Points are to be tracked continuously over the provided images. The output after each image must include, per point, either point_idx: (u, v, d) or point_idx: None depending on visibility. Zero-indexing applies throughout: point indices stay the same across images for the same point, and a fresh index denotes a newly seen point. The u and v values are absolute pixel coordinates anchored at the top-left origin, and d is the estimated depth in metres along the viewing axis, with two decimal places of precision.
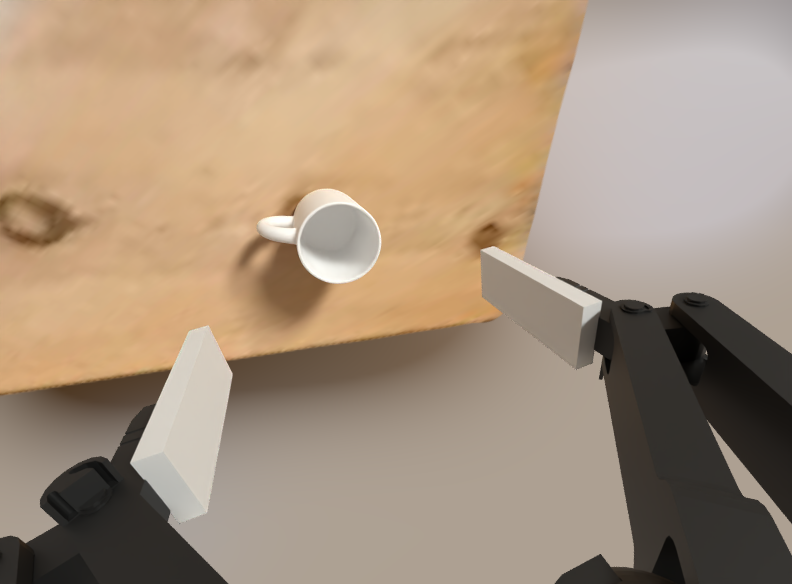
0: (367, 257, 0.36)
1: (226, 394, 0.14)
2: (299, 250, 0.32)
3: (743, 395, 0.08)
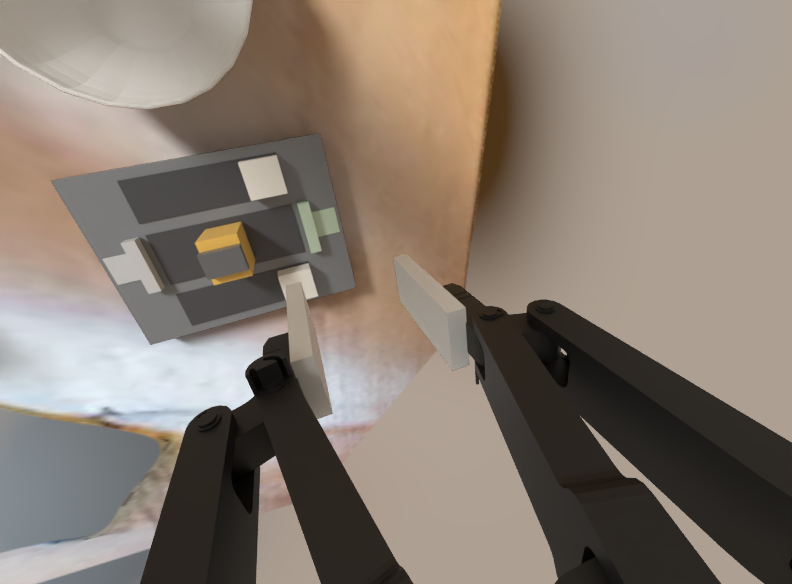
0: None
1: (317, 339, 0.16)
2: None
3: (607, 392, 0.09)
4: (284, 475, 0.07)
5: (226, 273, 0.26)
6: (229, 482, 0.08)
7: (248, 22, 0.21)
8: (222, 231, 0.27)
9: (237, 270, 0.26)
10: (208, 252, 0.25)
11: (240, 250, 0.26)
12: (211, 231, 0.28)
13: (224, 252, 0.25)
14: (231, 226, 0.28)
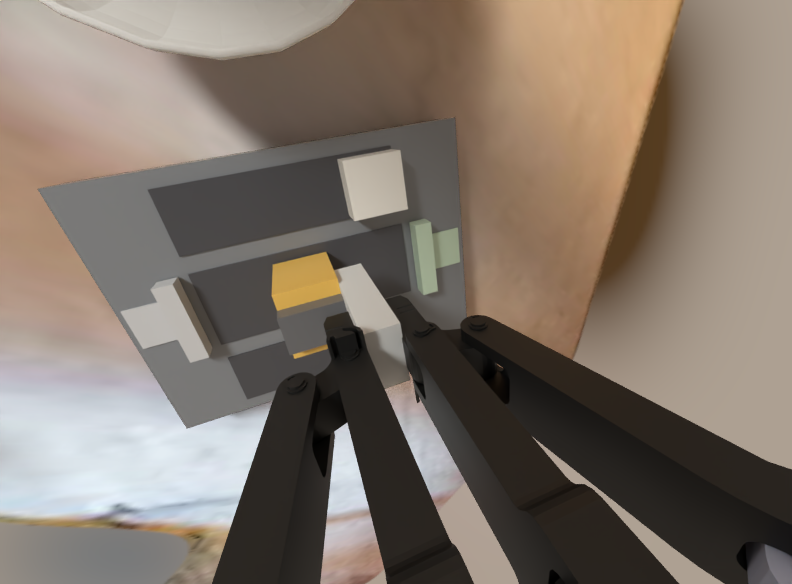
0: None
1: None
2: None
3: (550, 406, 0.09)
4: (352, 436, 0.08)
5: (319, 343, 0.16)
6: (310, 444, 0.09)
7: None
8: (307, 271, 0.17)
9: None
10: (292, 310, 0.15)
11: (344, 306, 0.15)
12: (287, 270, 0.17)
13: (320, 310, 0.15)
14: (316, 261, 0.18)
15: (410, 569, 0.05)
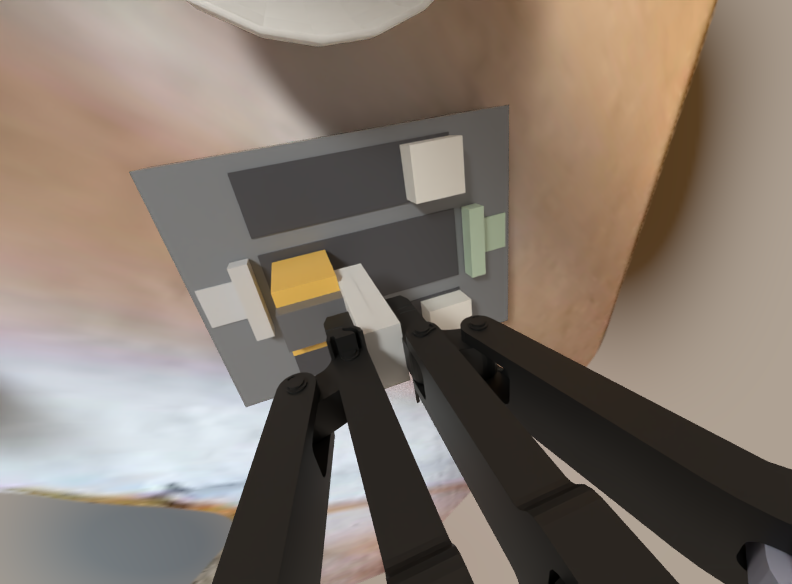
0: None
1: None
2: None
3: (550, 406, 0.09)
4: (352, 436, 0.08)
5: (318, 340, 0.16)
6: (310, 444, 0.09)
7: None
8: (306, 269, 0.17)
9: None
10: (292, 307, 0.15)
11: (343, 304, 0.15)
12: (286, 268, 0.17)
13: (319, 308, 0.15)
14: (314, 259, 0.18)
15: (410, 569, 0.05)
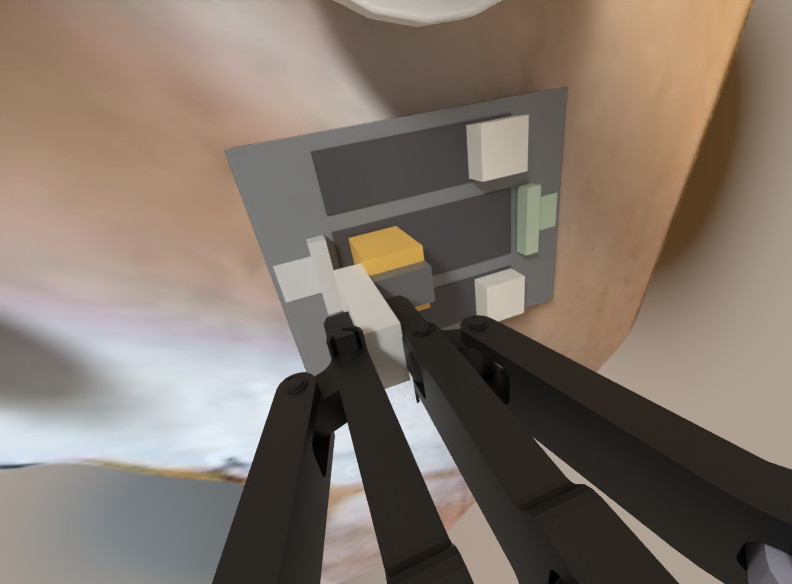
0: None
1: None
2: None
3: (550, 406, 0.09)
4: (352, 436, 0.08)
5: None
6: (310, 444, 0.09)
7: None
8: (388, 242, 0.18)
9: (420, 302, 0.17)
10: (383, 275, 0.16)
11: (430, 272, 0.16)
12: (366, 241, 0.18)
13: (409, 275, 0.16)
14: (391, 233, 0.19)
15: (410, 570, 0.05)
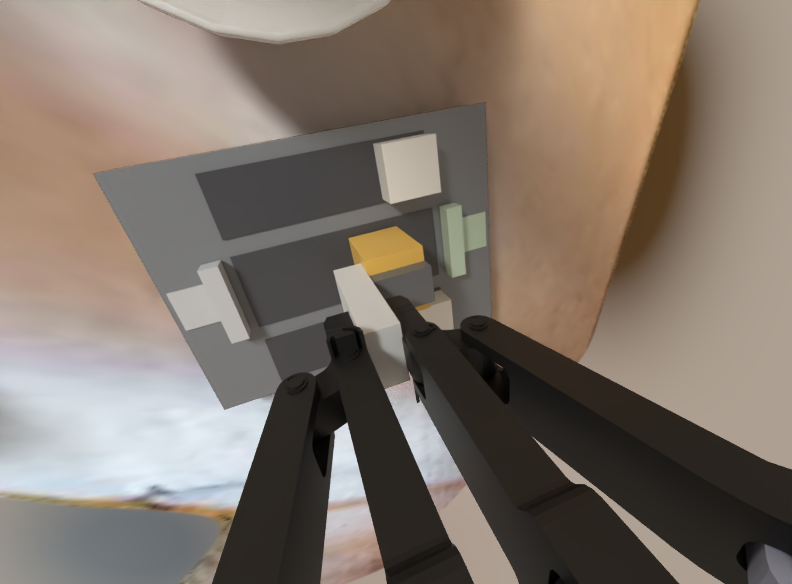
0: None
1: None
2: None
3: (550, 406, 0.09)
4: (352, 436, 0.08)
5: None
6: (310, 444, 0.09)
7: None
8: (388, 242, 0.18)
9: (420, 302, 0.17)
10: (383, 275, 0.16)
11: (430, 272, 0.16)
12: (366, 241, 0.18)
13: (409, 275, 0.16)
14: (391, 233, 0.19)
15: (410, 570, 0.05)
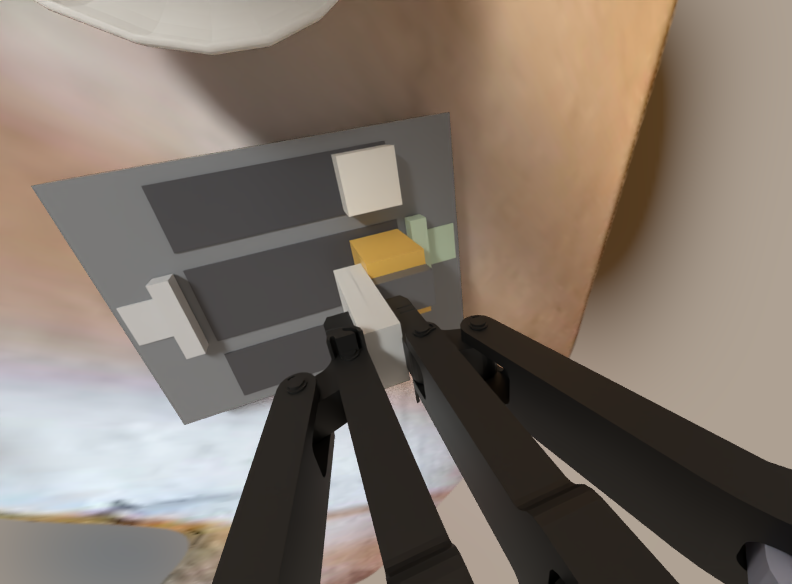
0: None
1: None
2: None
3: (550, 406, 0.09)
4: (352, 436, 0.08)
5: None
6: (310, 444, 0.09)
7: None
8: (389, 244, 0.18)
9: (421, 305, 0.17)
10: (384, 278, 0.16)
11: (431, 275, 0.16)
12: (367, 244, 0.18)
13: (410, 278, 0.16)
14: (392, 236, 0.19)
15: (410, 569, 0.05)
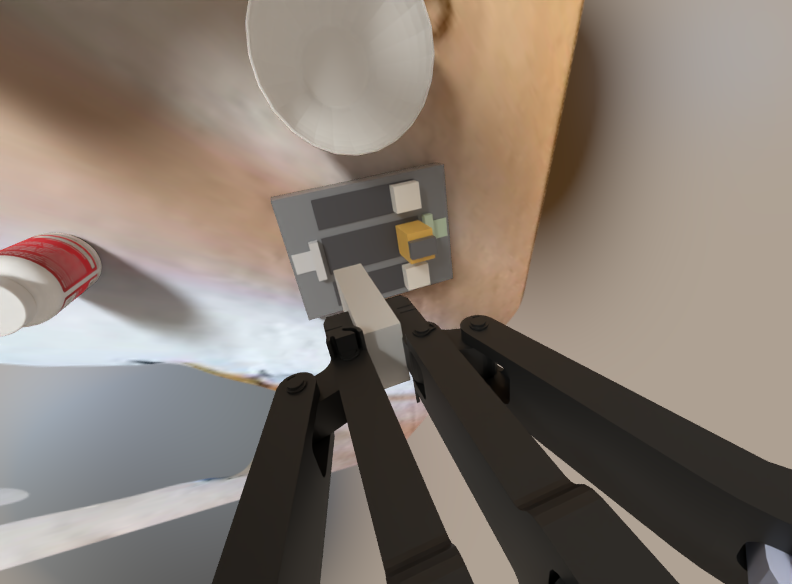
0: None
1: None
2: None
3: (550, 406, 0.09)
4: (352, 436, 0.08)
5: (424, 255, 0.37)
6: (309, 444, 0.09)
7: None
8: (415, 226, 0.38)
9: (431, 253, 0.38)
10: (415, 240, 0.37)
11: (435, 239, 0.37)
12: (405, 227, 0.39)
13: (426, 240, 0.37)
14: (416, 223, 0.40)
15: (410, 569, 0.05)
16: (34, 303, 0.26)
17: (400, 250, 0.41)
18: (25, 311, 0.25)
